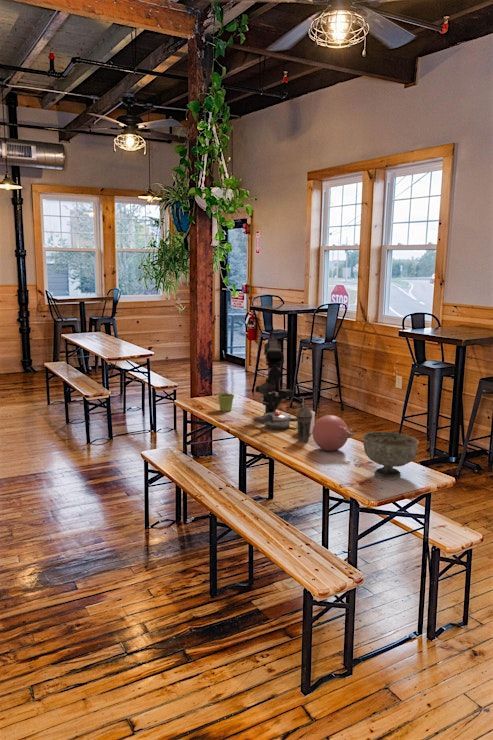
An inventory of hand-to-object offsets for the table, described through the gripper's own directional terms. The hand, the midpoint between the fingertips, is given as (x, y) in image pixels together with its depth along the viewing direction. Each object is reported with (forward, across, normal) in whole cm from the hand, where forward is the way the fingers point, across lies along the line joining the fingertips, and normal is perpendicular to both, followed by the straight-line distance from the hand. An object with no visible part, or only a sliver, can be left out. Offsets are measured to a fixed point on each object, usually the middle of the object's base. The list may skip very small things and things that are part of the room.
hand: (273, 408), depth 275 cm
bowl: (+12, +69, -12) cm, 71 cm away
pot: (+12, -6, +11) cm, 17 cm away
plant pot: (+12, -48, +16) cm, 52 cm away
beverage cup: (+12, +18, +1) cm, 22 cm away
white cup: (+12, +10, +13) cm, 20 cm away
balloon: (+12, +37, -3) cm, 39 cm away
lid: (+7, -6, +7) cm, 11 cm away
